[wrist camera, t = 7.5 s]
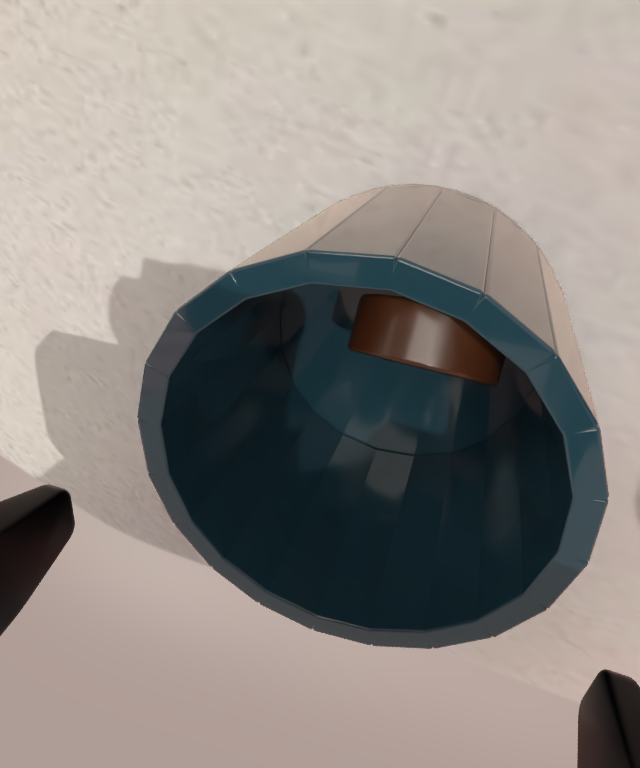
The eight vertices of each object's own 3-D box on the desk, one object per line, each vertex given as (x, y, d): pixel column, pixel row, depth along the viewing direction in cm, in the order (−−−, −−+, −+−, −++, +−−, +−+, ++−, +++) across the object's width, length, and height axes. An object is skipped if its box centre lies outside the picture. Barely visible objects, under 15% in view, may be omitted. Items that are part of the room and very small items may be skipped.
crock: (421, 501, 21) (380, 698, 14) (224, 343, 20) (81, 469, 13) (640, 329, 16) (742, 509, 9) (385, 109, 15) (284, 123, 8)
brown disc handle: (459, 338, 17) (449, 376, 17) (359, 314, 17) (350, 351, 17) (534, 326, 10) (517, 392, 10) (361, 284, 10) (345, 349, 10)
